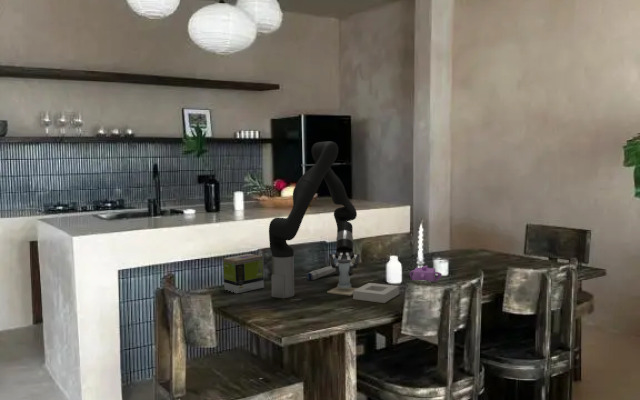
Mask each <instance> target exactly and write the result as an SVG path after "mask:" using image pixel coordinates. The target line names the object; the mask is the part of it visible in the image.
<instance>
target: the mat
mask: <svg viewBox="0 0 640 400" xmlns="http://www.w3.org/2000/svg"><path fill="white" fill-rule="evenodd" d="M358 288H359V287H351V288H347V289H342V288H338V287H337V286H336V287H334V288H331V289H329V290H327V291H326V292H327V294H332V295H333V294H334V295H342V296H349V297H350V296H353V291H354V290H356V289H358Z"/></svg>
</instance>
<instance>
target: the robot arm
mask: <svg viewBox="0 0 640 400" xmlns="http://www.w3.org/2000/svg"><path fill="white" fill-rule="evenodd" d="M311 156H312V158H313V161H314V165H312V166H311V167H310V168H309V169H308V170H306V172H304V173H303V175H302V176H301V177H299V179H298V180H297V183H296V184H295V187H294V188H293V191H292V202H293V203H292V208H291V211H290V213H289V214H288V216H287V217H274V218H273V219H271V221H270V223H269V225H268V226H269V227H268V240H269V249H270V252H271V272H272V273H271V278H270V279H271V281H270V282H271V297H272V298H277V299H285V298H286V299H288V298H293V297H294V296H295V269H294V268H295V265H294V263H295V260H294V259H295V258H294V257H295V256H294V255H295V253H294V251H295V250H294V249H293V248H292V247H291V246H290V245H289V244H288V242H287V241H292V240H293V239H294V238H295V237H296V236H297V234H298V232H299V230H300V227H301V224H302V222H303V219H304V217H305V215H306V213H307V211H308V209H309V207H310V204H311V202H312V201H313V199H314V197H315V195H316V193H317V192H318V190H319V187H320V186H321V184H322V182H323V181H325V183H326V185H327V186H326V187H327V189H328V191H329V194H330V197H331V200H332V202H333V204H334V205H336V206H337V205H341V206H342V207H337V208H335V209H334V212H333V218H334V220H335V223H336V228H337V229H336V231H337V232H336V238H335V239H336V241H335V243H336V244H335V247H336V249H335V253H334V254H332V253H329V254H328V259H329V262H330V266H332V268H336V271H335V276H337V277H339V262H338V259H350V268H349V276H350V277H352V276H353V274H354V269H357V268H358V265H359V262H360V257H361V255H360V254H359V253H357V254H355V253H354V236H353V235H354V234H353V233H354V232H353V224H352V223H351V221H354V220H356V219H357V217H358V216H357V215H358V214H357V210H356V208H355V206H354V205H353V203H352V201H350V199H349V197H348V195H347V192H346V189H345V186H344V184H343V182H342V181H341V179H340V177H339V176H338V175H337V174H336V173H335V172H334V170H333V169H332V168H331V167H332V166H333V164H334V163H335V161H336V159H337V158H338V156H339V146H338V144H337V143H336V142H334V141H330V140H329V141H317V142H316V143H313V145H312V146H311ZM335 259H337V260H336V263H335ZM353 259H354V263H353V262H352V260H353Z"/></svg>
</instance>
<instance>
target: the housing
mask: <svg viewBox="0 0 640 400" xmlns="http://www.w3.org/2000/svg"><path fill="white" fill-rule="evenodd" d="M357 288H358V289H356V290H354V291H353V295H352V296H353V297H352V299H353V300H356V301H357V300H359V301H365V302H371V303H372V302H373V303H374V302H375V303H381V304H385V303H388V302H389V301H390V300H392V299H395V297H397V296H398V295H400V286H399V285H394V284H393V285H391V284H385V283H383V284H382V283H374V282H368V283H366V284H363V285H362V286H359V287H357Z"/></svg>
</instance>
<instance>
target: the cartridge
mask: <svg viewBox="0 0 640 400" xmlns="http://www.w3.org/2000/svg"><path fill="white" fill-rule="evenodd" d="M338 262H339V276H338V283H337V286H336V287H338V288H342V289H347V288H352V283H351V281H350V280H351V276H349V268H350V259H338Z"/></svg>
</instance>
